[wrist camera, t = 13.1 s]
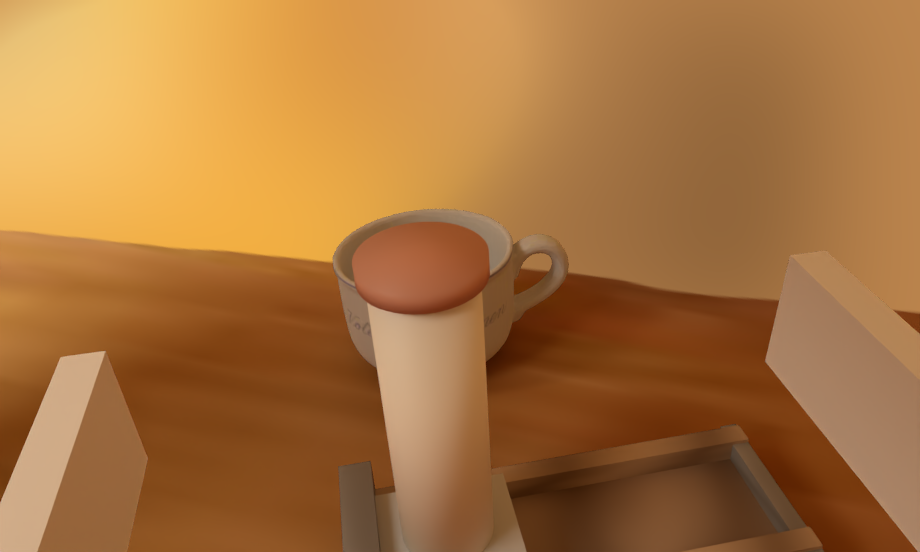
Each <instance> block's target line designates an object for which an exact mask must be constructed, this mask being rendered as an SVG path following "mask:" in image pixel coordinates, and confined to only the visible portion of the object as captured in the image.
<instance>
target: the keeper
mask: <svg viewBox="0 0 920 552" xmlns="http://www.w3.org/2000/svg"><path fill="white" fill-rule="evenodd" d="M352 268H353V274H354V281H355V286H356V290H357V292H358V294H359V295H360V296H361V297H362V299H364V300H365V301H366V302H367V306H368V313H369V319H370V326H371V333H372V339H373V346H374V352H375V359H376V365H377V372H378V379H379V385H380V392H381V398H382V405H383V412H384V418H385V425H386V431H387V438H388V444H389V451H390V458H391V464H392V471H393V477H394V484H395V490H396V492H394V493H388V494H382V495H377V496H375V504H376V514H377V523H378V533H379V542H380V552H526V548H525V545H524V542H523V538H522V535H521V532H520V528H519V525H518V522H517V518H516V515H515V512H514V508H513V505H512V502H511V498H510V495H509V491H508V488H507V485H506V481H505V478H504V475H503V473H501V474H495V475H491V458H490V438H489V418H488V398H487V378H486V359H485V339H484V319H483V299H482V290H483V289H484V288H485V286H486V285H487V283H488V280H489V277H490V262H489V248H488V245H487V243H486V241H485V240H484V239H483V238H482V237H481V236H480V235H479V234H477V233H476V232H474V231H472V230H470V229H468V228H466V227H463V226H460V225H456V224H451V223H445V222H415V223H408V224H403V225H398V226H395V227H391V228H388V229H386V230H383V231H381V232H379V233H376V234H374V235H373V236H371V237H369V238H368V239H367V240H365V241H364V242H363V243H362V244H361V245H360V246H359V247H358V248H357V249H356V251H355V253H354V255H353V258H352Z"/></svg>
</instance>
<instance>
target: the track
mask: <svg viewBox="0 0 920 552" xmlns="http://www.w3.org/2000/svg"><path fill="white" fill-rule="evenodd" d="M748 440H749V439H748V437H747V436H746V435H745V433H744V432H743V430H742V429H741V427H740V426H739V425H736V424H732V425H727V426H721V428H720V429H714V430H709V431H703V432H697V433H691V434H686V435H680V436H674V437H669V438H663V439H657V440H652V441H646V442H640V443H635V444H629V445H623V446H618V447H612V448H606V449H601V450H595V451H589V452H584V453H578V454H572V455H567V456H561V457H555V458H549V459H544V460H538V461H532V462H527V463H521V464H515V465H510V466H504V467H498V468H493V469H491V475H495V474H501V473H503V475H504V478H505V481H506V485H507V488H508V491H509V495H510V498H511V502H512V505H513V508H514V512H515V515H516V518H517V522H518V525H519V528H520V532H521V535H522V538H523V542H524V545H525V548H526V552H824V551H823V549H822V547H823V545H822V543H821V542H820V540H819V539H818V538H817V536H816V535H815V533H814V532H813V530H812V529H811V528H810V527H807V526H806V525H805V523H804V522H803V520H802V519H801V517H800V516H799V515H798V513H797V512H796V510H795V509H794V507H793V506H792V505H791V503H790V502H789V500H788V499H787V497H786V496H785V494H784V493H783V492H782V490H781V489H780V487H779V486H778V484H777V483H776V482H775V480H774V479H773V477H772V476H771V474H770V473H769V471H768V470H767V469H766V467H765V466H764V464H763V463H762V461H761V460H760V458H759V457H758V456H757V454H756V453H755V451H754V450H753V448H752V447H751V446H750V444H749V443H748ZM338 468H339V487H340V505H341V523H342V542H343V552H380V542H379V533H378V523H377V514H376V504H375V496H377V495H382V494H388V493H394V492H396V490H395V486H390V487H385V488H379V489H375V485H374V479H373V473H372V467H371V462H370V461H368V462H362V463H356V464H350V465H344V466H338Z"/></svg>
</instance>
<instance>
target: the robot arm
mask: <svg viewBox="0 0 920 552" xmlns="http://www.w3.org/2000/svg"><path fill="white" fill-rule="evenodd" d="M765 362H766V363H767V364H768V366H769V367H770V368H771V369H772V371H773V372H774V373H775V374H776V376H777V377H778V378H779V379H780V380H781V382H782V383H783V384H784V385H785V387H786V388H787V389H788V390H789V392H790V393H791V394H792V395H793V397H794V398H795V399H796V400H797V402H798V403H799V404H800V405H801V407H802V408H803V409H804V410H805V412H806V413H807V414H808V415H809V417H810V418H811V419H812V420H813V422H814V423H815V424H816V425H817V427H818V428H819V429H820V430H821V431H822V433H823V434H824V435H825V436H826V438H827V439H828V440H829V441H830V443H831V444H832V445H833V446H834V448H835V449H836V450H837V451H838V453H839V454H840V455H841V456H842V458H843V459H844V460H845V461H846V463H847V464H848V465H849V466H850V468H851V469H852V470H853V471H854V473H855V474H856V475H857V476H858V478H859V479H860V480H861V481H862V483H863V484H864V485H865V486H866V487H867V489H868V490H869V491H870V492H871V494H872V495H873V496H874V497H875V499H876V500H877V501H878V502H879V504H880V505H881V506H882V507H883V509H884V510H885V511H886V512H887V514H888V515H889V516H890V517H891V519H892V520H893V521H894V522H895V524H896V525H897V526H898V527H899V529H900V530H901V531H902V532H903V534H904V535H905V536H906V537H907V538H908V540H909V541H910V542H911V543H912V545H913V546H914V547H915V548H916V550H917V551H918V552H920V334H919V333H918V332H917V331H916V330H915V329H913V328H912V327H911V326H910V325H909V324H908V323H907V322H906V321H904V320H903V319H902V318H901V317H900V316H899V315H898V314H897V313H895V312H894V311H893V310H892V309H891V308H890V307H889V306H887V305H886V304H885V303H884V302H883V301H882V300H881V299H880V298H879V297H877V296H876V295H875V294H874V293H873V292H872V291H871V290H870V289H868V288H867V287H866V286H865V285H864V284H863V283H862V282H861V281H859V280H858V279H857V278H856V277H855V276H854V275H853V274H852V273H850V272H849V271H848V270H847V269H846V268H845V267H844V266H843V265H841V264H840V263H839V262H838V261H837V260H836V259H835V258H833V256H831V255H830V254H829V253H828V252H827V251H825V250H824V251H817V252H810V253H803V254H795V255H790V258H789V262H788V267H787V271H786V275H785V279H784V283H783V288H782V292H781V296H780V300H779V305H778V309H777V313H776V317H775V321H774V326H773V330H772V334H771V338H770V343H769V347H768V351H767V355H766V360H765ZM147 461H148V457H147V455H146V452H145V450H144V447H143V445H142V442H141V439H140V437H139V434H138V432H137V429H136V427H135V424H134V422H133V419H132V416H131V414H130V411H129V409H128V406H127V404H126V401H125V399H124V396H123V394H122V391H121V388H120V386H119V383H118V381H117V378H116V376H115V373H114V371H113V368H112V365H111V363H110V360H109V358H108V355H107V353H106V351H100V352H93V353H86V354H79V355H72V356H65V357H61V358H60V360H59V362H58V365H57V367H56V370H55V372H54V374H53V377H52V379H51V382H50V384H49V386H48V389H47V391H46V394H45V396H44V399H43V401H42V403H41V406H40V408H39V411H38V413H37V415H36V418H35V420H34V423H33V425H32V427H31V430H30V432H29V435H28V437H27V440H26V442H25V444H24V447H23V449H22V452H21V454H20V456H19V459H18V461H17V464H16V466H15V468H14V471H13V473H12V476H11V478H10V480H9V483H8V485H7V488H6V490H5V493H4V495H3V497H2V500H1V502H0V552H127V550H128V546H129V541H130V537H131V532H132V528H133V523H134V519H135V514H136V510H137V505H138V501H139V496H140V492H141V487H142V483H143V478H144V474H145V469H146V465H147Z"/></svg>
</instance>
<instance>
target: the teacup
mask: <svg viewBox="0 0 920 552" xmlns="http://www.w3.org/2000/svg"><path fill="white" fill-rule="evenodd" d="M415 222H445V223H451V224H456V225H460V226H463V227H466V228H468V229H470V230H472V231H474V232H476V233H477V234H479V235H480V236H481V237H482V238H483V239H484V240H485V241H486V243H487V245H488V248H489V262H490V277H489V280H488V283H487V285H486V286H485V288H484V289H483V290H482V299H483V319H484V339H485V359H486V361H488V360H489V359H490V358H492V357H493V356H494V355H495V354H496V353H497V352H498V351H499V350H500V348H501V347H502V346H503V344H504V343H505V341H506V339H507V337H508V335H509V333H510V329H511V326H512V323H513V322H516V321H518V320H520V319H521V317H522V316H523V314H524V313H525V312H526V311H527V310H529V309H530V308H532V307H534V306H536V305H537V304H539V303H540V302H542V301H543V300H545V299H546V298H548V297H549V296H550V295H551V294H553V293H554V292H555V291H556V290H557V289H558V288H559V287H560V286H561V284H562V283H563V282H564V280H565V278H566V275H567V273H568V265H569V264H568V257H567V254H566V252H565V250H564V249H563V247H562V245H561V244H560V243H559V242H558V241H557V240H556V239H554V238H552V237H551V236H547V235H543V234H535V235H530V236H527V237H525V238H523V239H521V240H519V241H518V242H517V243H515V244H514V245H513V240H512V237H511V235H510V233H509V232H508V231H507V229H506V228H504V227H503V226H502V225H501V224H500V223H498V222H497V221H495V220H494V219H492V218H490V217H487V216H484V215H481V214H476V213H473V212H468V211H461V210H452V209H424V210H416V211H409V212H404V213H399V214H394V215H392V216H388V217H384V218H381V219H378V220H376V221H373V222H371V223H368V224H366V225H364V226H363V227H360V228H359V229H357V230H356V231H354V232H353V233H351V234H350V235H349V236H348V237H346V238H345V239H344V240H343V241H342V243H341V244H340V245H339V246H338V247H337V250H336V251H335V253H334V255H333V269H334V272H335V274H336V276H337V277H338V283H339V288H340V294H341V299H342V304H343V309H344V314H345V318H346V322H347V326H348V330H349V333H350V336H351V339H352V341H353V343H354V345H355V347H356V349H357V350H358V351H359V353H360V354H361V356H362V357H363V358H364V359H365V360H366V361H368V362H369V363H370V364H371V365H373V366H374V367H376V368H377V365H376V359H375V352H374V346H373V339H372V333H371V326H370V319H369V313H368V306H367V302H366V301H365V300H364V299H362V297H361V296H360V295H359V294H358V292H357V290H356V286H355V281H354V274H353V268H352V258H353V255H354V253H355V251H356V249H357V248H358V247H359V246H360V245H361V244H362V243H363V242H364V241H365V240H367V239H368V238H369V237H371V236H373V235H374V234H376V233H379V232H381V231H383V230H386V229H388V228H391V227H395V226H398V225H403V224H408V223H415ZM536 253H545V254H547V255H549V256H550V257H551V259H552V266H551V269H550V271H549V272H548V273H547V274H546V275H545V277H544V278H543V279H542V280H541V281H539V282H538V283H537V284H535V285H534V286H532V287H531V288H529V289H527V290H525V291H524V292H521V293H519V294H517V295H514V280H515V279H516V278H517V277H518V275H519V271H520V268H521V266H522V264H523V262H524V261H525V260H526V259H527V258H528V257H529V256H530V255H532V254H536Z"/></svg>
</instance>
